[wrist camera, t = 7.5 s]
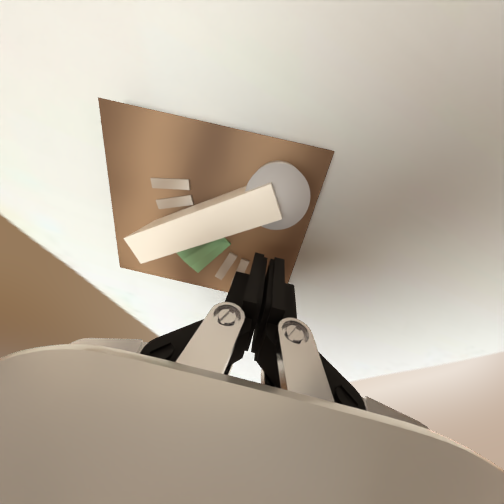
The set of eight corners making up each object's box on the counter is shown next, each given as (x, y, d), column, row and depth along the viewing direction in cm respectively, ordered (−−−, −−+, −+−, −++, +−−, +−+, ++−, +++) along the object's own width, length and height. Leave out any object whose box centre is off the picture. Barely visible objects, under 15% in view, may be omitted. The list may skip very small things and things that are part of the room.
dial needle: (295, 151, 11) (302, 152, 8) (308, 204, 12) (319, 223, 9) (153, 208, 13) (115, 226, 10) (175, 247, 14) (147, 274, 11)
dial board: (326, 151, 13) (335, 151, 11) (280, 288, 18) (280, 306, 16) (123, 104, 13) (95, 96, 11) (135, 255, 18) (118, 268, 16)
